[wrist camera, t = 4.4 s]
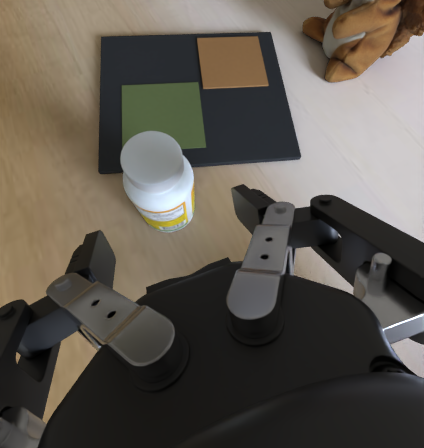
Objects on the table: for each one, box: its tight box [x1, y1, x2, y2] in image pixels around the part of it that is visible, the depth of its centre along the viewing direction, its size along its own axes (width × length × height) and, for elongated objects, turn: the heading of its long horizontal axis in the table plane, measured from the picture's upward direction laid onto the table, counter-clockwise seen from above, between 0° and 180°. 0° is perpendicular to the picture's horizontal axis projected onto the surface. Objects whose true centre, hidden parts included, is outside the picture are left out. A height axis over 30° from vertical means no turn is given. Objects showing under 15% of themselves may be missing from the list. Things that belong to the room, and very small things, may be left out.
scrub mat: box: [98, 32, 301, 174], centre depth 28 cm, size 22×19×1 cm
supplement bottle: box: [120, 131, 195, 232], centre depth 20 cm, size 5×5×10 cm
